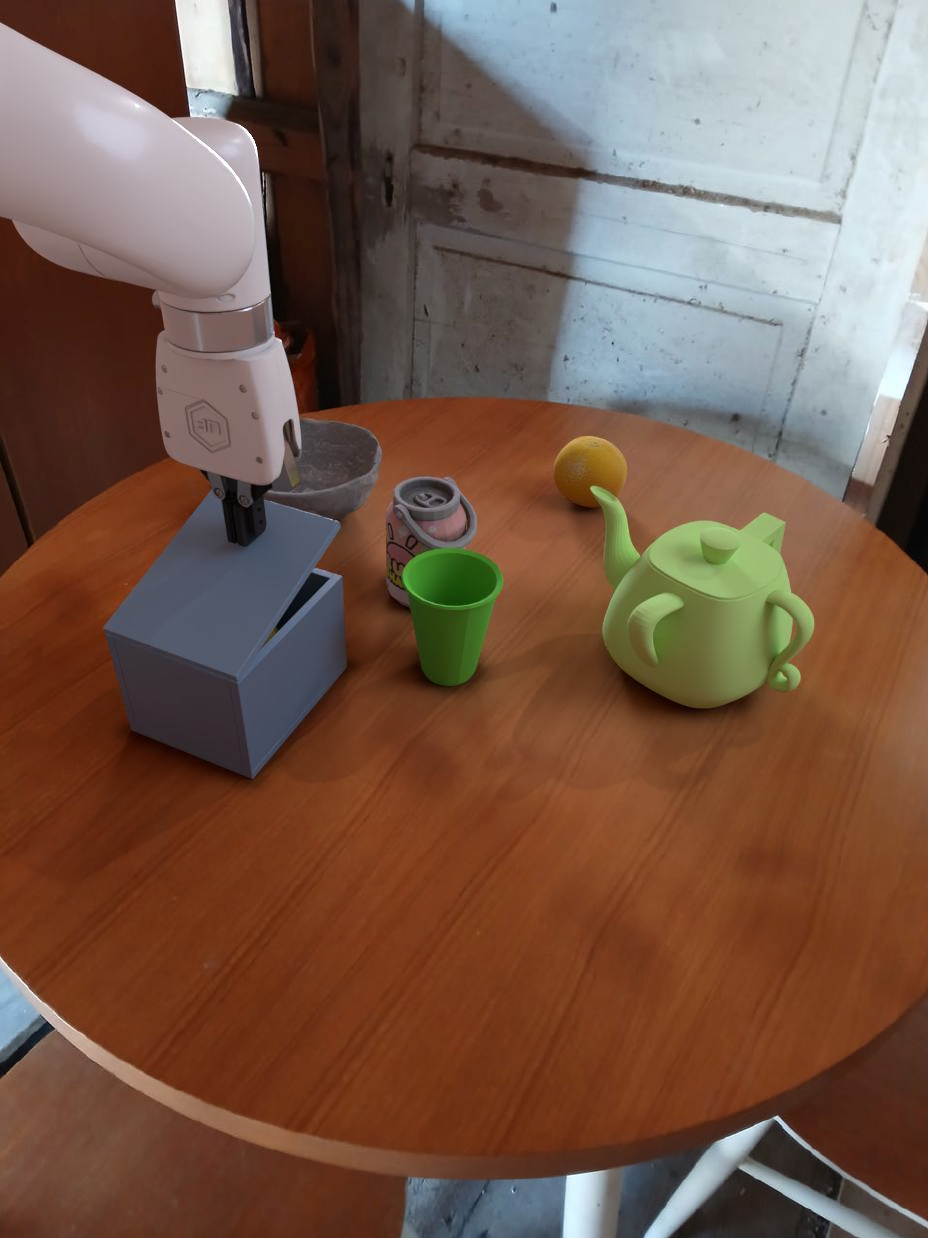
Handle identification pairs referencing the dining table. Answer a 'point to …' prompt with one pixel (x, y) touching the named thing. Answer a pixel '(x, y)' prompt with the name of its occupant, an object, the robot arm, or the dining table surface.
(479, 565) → the cup
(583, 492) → the fruit
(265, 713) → the chest
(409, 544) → the beverage can
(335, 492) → the bowl
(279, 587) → the lid
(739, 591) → the teapot
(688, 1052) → the dining table surface
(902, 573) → the dining table surface
